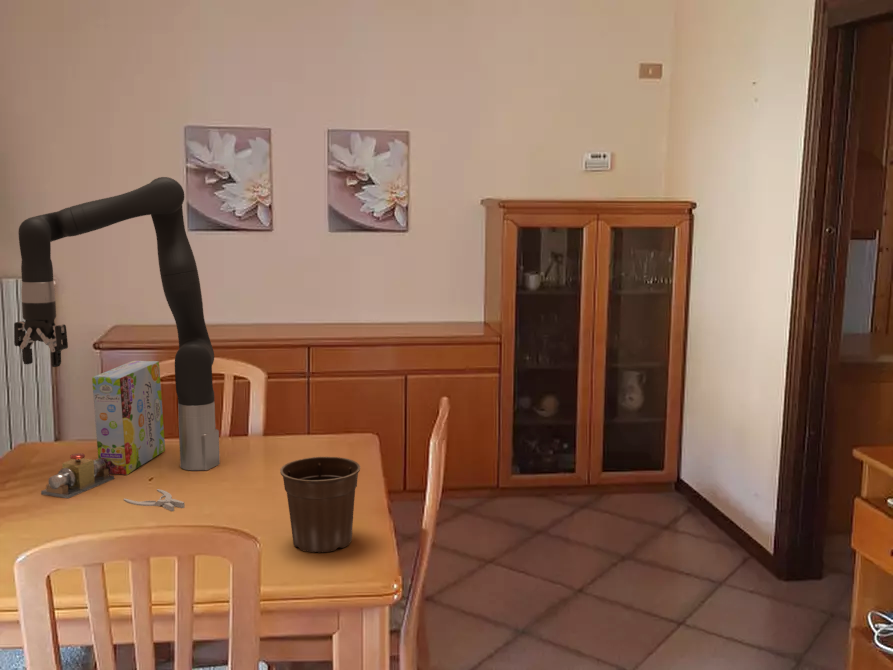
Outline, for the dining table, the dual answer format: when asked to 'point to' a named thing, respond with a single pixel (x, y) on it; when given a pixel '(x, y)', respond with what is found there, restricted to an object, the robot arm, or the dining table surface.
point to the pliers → (160, 502)
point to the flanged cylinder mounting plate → (66, 479)
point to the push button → (81, 469)
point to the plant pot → (321, 501)
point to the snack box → (129, 415)
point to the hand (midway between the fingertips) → (42, 365)
